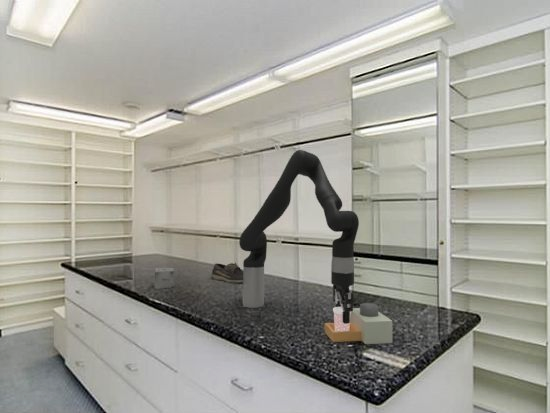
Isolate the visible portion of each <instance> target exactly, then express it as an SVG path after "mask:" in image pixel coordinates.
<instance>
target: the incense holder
mask: <svg viewBox="0 0 550 413" xmlns="http://www.w3.org/2000/svg"><path fill="white" fill-rule="evenodd" d="M174 270H175V269H174V267H171V266H170V267H155V268H154V290H159V289H172V288H174V287H175V286H174V280H175V279H174V278H175V277H174V275H175V273H174V272H175V271H174Z"/></svg>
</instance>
